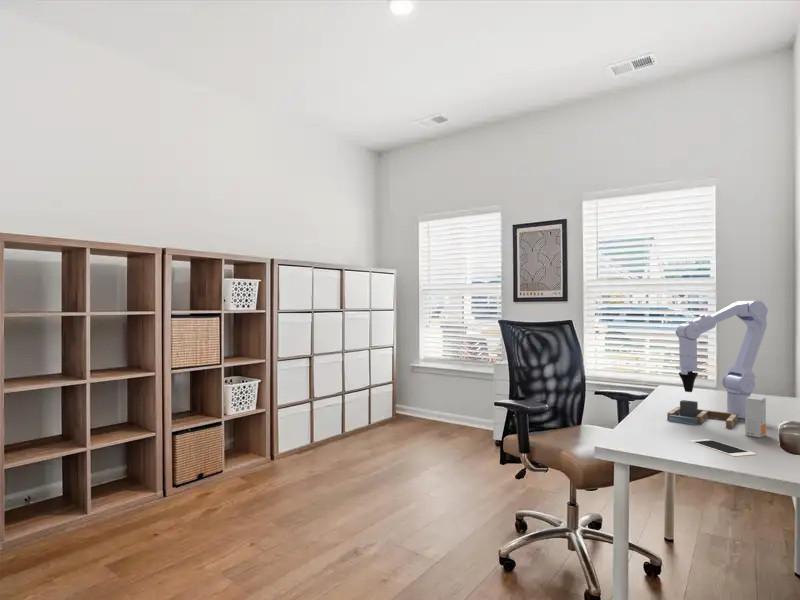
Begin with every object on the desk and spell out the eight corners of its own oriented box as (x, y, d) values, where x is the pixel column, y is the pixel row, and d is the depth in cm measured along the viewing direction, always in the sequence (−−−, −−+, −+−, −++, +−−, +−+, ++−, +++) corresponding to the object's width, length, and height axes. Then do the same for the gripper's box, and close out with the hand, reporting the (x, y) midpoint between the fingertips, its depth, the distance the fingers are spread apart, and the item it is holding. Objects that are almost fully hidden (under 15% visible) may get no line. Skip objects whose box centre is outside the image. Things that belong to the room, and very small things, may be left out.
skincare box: (761, 438, 153) (760, 399, 154) (745, 435, 157) (744, 398, 157) (766, 434, 157) (766, 397, 157) (750, 432, 161) (750, 395, 161)
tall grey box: (682, 416, 183) (682, 400, 183) (697, 418, 180) (697, 401, 180) (680, 417, 180) (679, 401, 180) (695, 419, 177) (695, 403, 177)
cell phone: (734, 458, 134) (734, 455, 134) (688, 442, 150) (688, 440, 150) (757, 456, 136) (757, 453, 136) (709, 440, 152) (709, 438, 152)
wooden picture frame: (677, 413, 190) (677, 406, 190) (737, 420, 177) (737, 413, 177) (666, 420, 177) (666, 413, 177) (730, 429, 164) (730, 421, 164)
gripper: (680, 353, 192) (681, 388, 192) (671, 356, 181) (671, 393, 181) (701, 354, 187) (701, 390, 187) (693, 357, 176) (693, 395, 176)
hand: (688, 391), depth 184 cm, fingers closed
